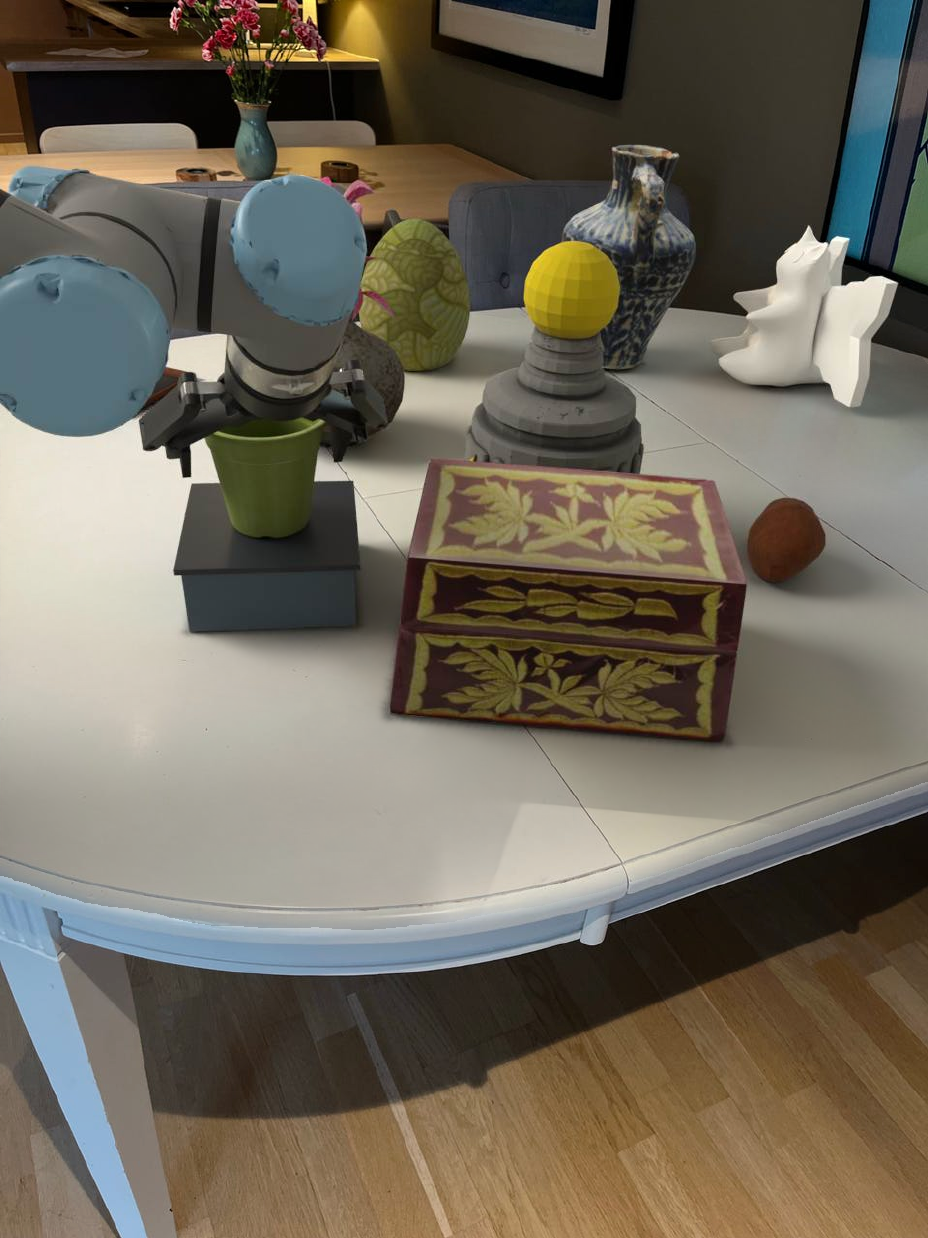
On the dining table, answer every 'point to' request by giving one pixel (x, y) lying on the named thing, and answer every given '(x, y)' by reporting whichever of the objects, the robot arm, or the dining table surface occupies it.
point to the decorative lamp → (562, 376)
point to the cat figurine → (809, 324)
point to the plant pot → (267, 474)
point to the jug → (637, 248)
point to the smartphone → (165, 384)
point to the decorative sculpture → (417, 295)
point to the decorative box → (570, 601)
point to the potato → (784, 539)
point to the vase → (369, 343)
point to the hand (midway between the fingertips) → (261, 455)
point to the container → (269, 565)
